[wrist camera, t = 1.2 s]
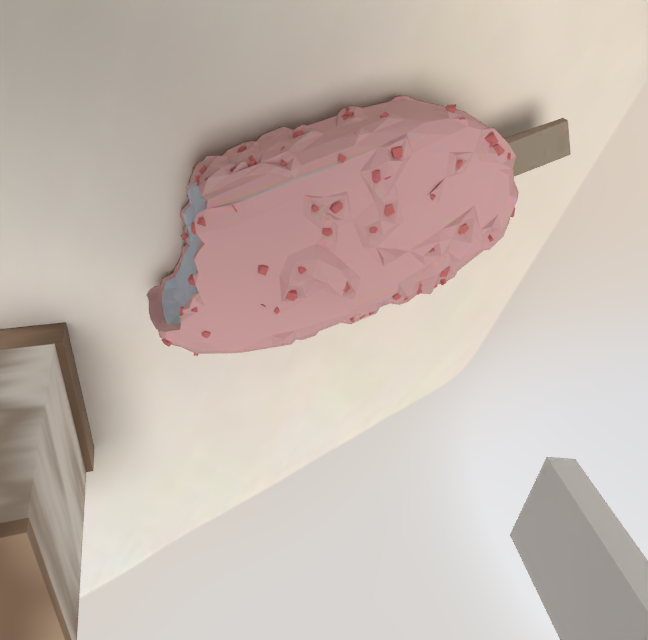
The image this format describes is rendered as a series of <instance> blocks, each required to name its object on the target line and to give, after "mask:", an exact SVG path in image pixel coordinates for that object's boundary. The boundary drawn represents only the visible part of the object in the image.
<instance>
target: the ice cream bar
mask: <svg viewBox="0 0 648 640" xmlns="http://www.w3.org/2000/svg"><path fill="white" fill-rule="evenodd" d="M455 107H456V105H447V107H445V106H439V105H435V104H431V103H426V102H422V101H418V100H415V99H412V98H410V97H408V96H396V97H394V99H393V100H391V101H390V102H386V103H382V104H377V105H373V106H368V107H364V108H361V107H355V106H349V107H347V108H344V109H342V110H340V112H339V113H338V115H337V116H334V117H331V118H328V119H325V120H322V121H319V122H316V123H313V124H310V125H307V126H306V125H304V124H302V125H301V126H299V127H297V128H296V129H294V130H292V129H289V128H287V127H284V126H283V127H281V128H278V129H276V130H273V131H271V132H268V133H266V134H263V135H261V137H260V138H259V139H258V140H257V141H256V142H255V141H249V142H244V143H242V144H240V145H238V146H235V147H233V148H231V149H229V150H227V151H226V152H225V153H224V154H223V156H206V158H205V159H204V160H203V161H200V162H199V163H198V164H196V165H194V169H193V174H192V176H190V183H189V185H188V186H187V196H188V198H189V202H188V204H187V205H186V206H185V207H184V208H183V209H182V210H181V213H180V217H181V219H182V221H183V224H184V226H185V228H184V231H183V235H181V237H182V240H183V241H185V242H186V243H187V244H186V245H185V246H184V247H182V255H181V257H180V260H179V262H178V264H177V265H176V267H175V269H174V272H173V273H172V274H171V275H169V276H167V277H165V278H163V279H162V282H161V285H159V286H155V287H153V288H152V289H150V290H149V292H148V294H147V296H148V300H149V314H150V318H151V320H152V322H153V324H154V326H155V328H156V329H158V331H159V335H160V337H161V338H163V339H162V341H163V343H164V344H165V345H167V346H170V345H171V344H172V345H176V346H179V347H183V348H185V349H187V350H189V351H192V352H194V355H197V356H198V354H201V353H239V352H247V351H253V350H259V349H265V348H271V347H277V346H284V345H290V344H292V343H293V342H294V341H295V340H296V339H298V340H303V339H306V338H309V337H312V336H315V335H316V334H317V333H318V331H320V330H323V329H326V328H328V327H331V326H333V325H336V324H338V323H347V324H352V323H354V322H357V321H359V320H361V319H363V318H365V317H368V316H370V315H373V314H376V313H377V311H378V310H379V308H380V307H381V306H384V305H387V304H389V303H392V304H399V305H400V304H403V303H406V302H408V301H410V300H411V299H412V298H413V297H414V296H416V295H417V294H420V293H422V294H431V293H432V291H433V289H434V288H435V287H437V284H441V285H444V284H445V283H446V282H447V281H448V280H450V279H452V278H453V277H455V275H456V273H457V271H458V270H459V269H461V268H462V267H463V266H464V265H466V264H467V263H468V262H470V261H471V260H472V259H473V258H475V257H476V256H477V255H478V254H480V253H481V252H482V251H483V250H490V249H491V248H492V247H493V246H494V245H495V244H496V243H497V242H498V241H499V240H500V239H501V238H502V237H503V236H504V233H505V231H506V228H507V226H508V224H509V219H510V217H514V212H515V208H514V207H515V204H516V202H517V199H518V190H517V187H516V185H515V182H514V176H516V175H519V174H522V173H524V172H527V171H529V170H532V169H534V168H537V167H540V166H542V165H545V164H547V163H550V162H552V161H555V160H558V159H560V158H563V157H565V156H568V155H570V143H569V130H568V120H566V119H564V118H561V119H558V120H556V121H553V122H550V123H547V124H544V125H542V126H539V127H536V128H533V129H530V130H527V131H525V132H522V133H519V134H516V135H513V136H510V137H508V138H505V139H504V138H503V137H502V136H501V135H500V134H499V133H498V132H497V131H496V130H495V129H494V128H489V127H487V126H486V125H484V124H483V123H481V122H480V121H478V120H477V119H475V118H474V117H472V116H471V115H469V114H468V113H466V112H464V111H460V110H456V109H455Z"/></svg>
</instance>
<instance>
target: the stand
mask: <svg viewBox="0 0 648 640" xmlns="http://www.w3.org/2000/svg"><path fill="white" fill-rule="evenodd" d="M93 463H94V445H93V441H92V436H91V432H90V427H89V423H88V418H87V414H86V410H85V405H84V401H83V396H82V392H81V388H80V383H79V379H78V374H77V370H76V366H75V361H74V357H73V352H72V348H71V344H70V339H69V335H68V330H67V326H66V323H58V324H49V325H39V326H30V327H20V328H11V329H1V330H0V640H77V626H78V608H79V591H80V573H81V556H82V538H83V520H84V502H85V484H86V472H90V471H93Z"/></svg>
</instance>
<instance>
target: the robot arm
mask: <svg viewBox="0 0 648 640" xmlns="http://www.w3.org/2000/svg"><path fill="white" fill-rule="evenodd" d="M510 536H511V538H512V540H513V542H514V544H515V546H516V548H517V550H518V552H519V554H520V557H521V559H522V561H523V562H524V565H525V567H526V569H527V571H528V573H529V575H530V578H531V580H532V582H533V584H534V586H535V588H536V590H537V592H538V594H539V596H540V598H541V601H542V603H543V605H544V607H545V609H546V611H547V613H548V615H549V617H550V619H551V621H552V624H553V625H554V628H555V630H556V632H557V634H558V636H559V638H560V640H648V560H647V559H646V558H645V556H644V555H643V553H642V552H641V551H640V549H639V548H638V547H637V545H636V544H635V542H634V541H633V539H632V538H631V537H630V535H629V534H628V532H627V531H626V530H625V528H624V527H623V525H622V524H621V523H620V521H619V520H618V518H617V517H616V516H615V514H614V513H613V511H612V510H611V509H610V507H609V506H608V504H607V503H606V502H605V500H604V499H603V497H602V496H601V495H600V493H599V492H598V490H597V489H596V488H595V486H594V485H593V483H592V482H591V481H590V479H589V478H588V476H587V475H586V474H585V472H584V471H583V469H582V468H581V467H580V465H579V464H578V462H577V461H576V460H575V459H568V458H554V457H547V458H546V460H545V462H544V464H543V466H542V468H541V471H540V473H539V475H538V477H537V479H536V481H535V483H534V485H533V487H532V490H531V492H530V494H529V496H528V498H527V500H526V502H525V504H524V507H523V508H522V511H521V513H520V515H519V517H518V519H517V521H516V523H515V526H514V528H513V530H512V532H511V534H510Z"/></svg>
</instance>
